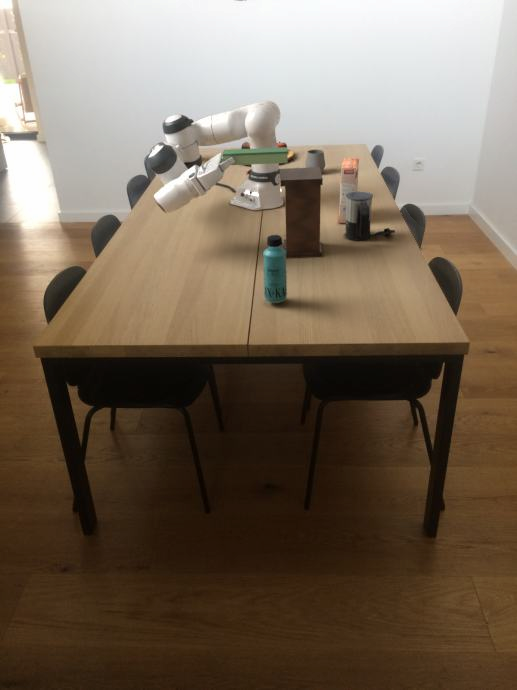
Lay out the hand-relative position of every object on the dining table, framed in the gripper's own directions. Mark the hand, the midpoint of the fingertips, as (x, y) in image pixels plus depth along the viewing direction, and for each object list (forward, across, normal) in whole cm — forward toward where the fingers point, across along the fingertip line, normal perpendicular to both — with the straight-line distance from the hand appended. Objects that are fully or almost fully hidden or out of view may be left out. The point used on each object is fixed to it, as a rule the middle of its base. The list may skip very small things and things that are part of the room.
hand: (234, 156), depth 180 cm
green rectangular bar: (+4, 0, -5) cm, 7 cm away
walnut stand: (+2, 0, -38) cm, 38 cm away
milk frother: (+23, -10, -51) cm, 56 cm away
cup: (+11, -92, -44) cm, 102 cm away
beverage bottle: (-6, +38, -34) cm, 51 cm away
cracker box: (+18, -30, -48) cm, 59 cm away
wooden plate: (-11, -122, -31) cm, 126 cm away
